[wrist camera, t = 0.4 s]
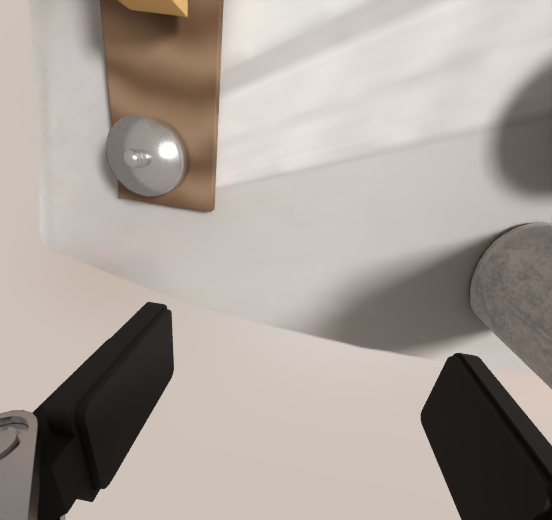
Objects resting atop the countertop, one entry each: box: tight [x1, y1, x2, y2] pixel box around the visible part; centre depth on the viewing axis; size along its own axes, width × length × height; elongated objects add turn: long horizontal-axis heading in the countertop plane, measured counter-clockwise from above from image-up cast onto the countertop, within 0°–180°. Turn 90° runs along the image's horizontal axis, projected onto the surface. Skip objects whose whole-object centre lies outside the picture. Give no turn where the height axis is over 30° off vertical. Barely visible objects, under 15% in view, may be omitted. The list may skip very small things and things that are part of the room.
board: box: [100, 0, 223, 212], centre depth 32 cm, size 29×13×2 cm, turn 172°
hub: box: [106, 115, 190, 196], centre depth 32 cm, size 9×9×6 cm
